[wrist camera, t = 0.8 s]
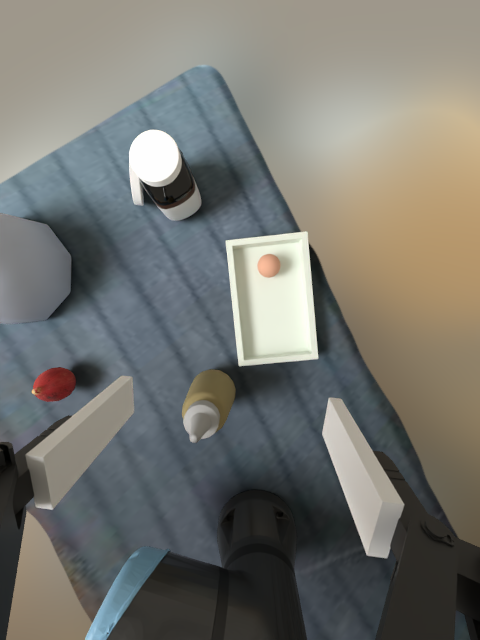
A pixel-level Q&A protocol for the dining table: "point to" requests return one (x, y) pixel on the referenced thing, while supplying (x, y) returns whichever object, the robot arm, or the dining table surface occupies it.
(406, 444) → the dining table surface
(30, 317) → the bottle
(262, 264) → the egg
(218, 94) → the dining table surface
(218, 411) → the squeeze bottle
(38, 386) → the red fruit
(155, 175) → the spread jar
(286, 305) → the tray
